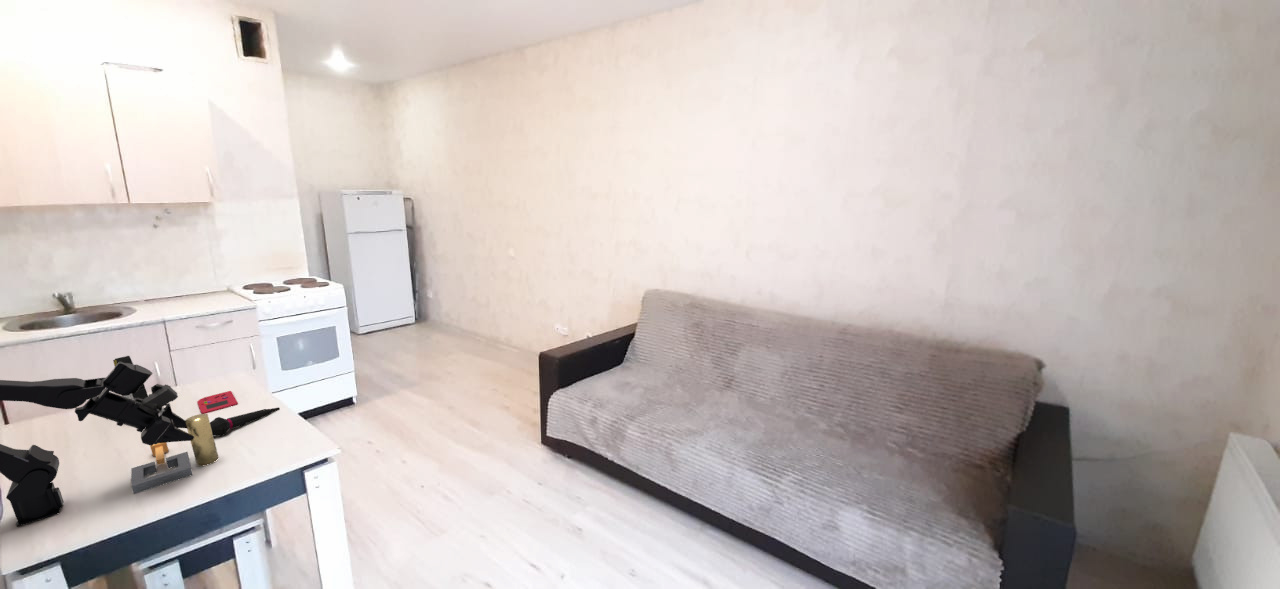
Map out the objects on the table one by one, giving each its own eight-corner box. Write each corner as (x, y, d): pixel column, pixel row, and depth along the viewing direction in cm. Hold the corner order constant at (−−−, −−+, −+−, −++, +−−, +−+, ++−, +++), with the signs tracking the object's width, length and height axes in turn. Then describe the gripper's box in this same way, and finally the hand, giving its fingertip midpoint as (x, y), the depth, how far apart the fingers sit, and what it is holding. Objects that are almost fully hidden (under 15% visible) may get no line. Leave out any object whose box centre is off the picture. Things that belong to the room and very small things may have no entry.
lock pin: (153, 469, 133) (150, 459, 132) (152, 452, 141) (150, 443, 140) (170, 464, 135) (167, 454, 134) (168, 448, 143) (165, 438, 142)
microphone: (276, 417, 167) (206, 440, 149) (271, 401, 167) (201, 421, 149) (286, 415, 165) (216, 438, 147) (281, 398, 165) (211, 419, 146)
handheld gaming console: (230, 389, 180) (237, 402, 170) (231, 393, 180) (238, 406, 170) (195, 398, 173) (201, 412, 163) (196, 402, 174) (202, 416, 164)
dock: (133, 494, 123) (131, 486, 122) (133, 475, 131) (131, 468, 130) (192, 475, 130) (190, 467, 130) (189, 458, 138) (187, 451, 137)
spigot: (197, 468, 133) (185, 424, 130) (196, 461, 137) (184, 418, 133) (219, 461, 136) (208, 417, 133) (217, 454, 140) (206, 412, 136)
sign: (129, 418, 169) (109, 362, 168) (142, 414, 172) (123, 359, 171) (140, 417, 156) (118, 355, 155) (154, 412, 158) (133, 352, 157)
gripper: (146, 391, 119) (217, 416, 129) (145, 370, 132) (210, 395, 142) (109, 434, 115) (185, 456, 126) (112, 408, 128) (180, 430, 139)
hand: (191, 432), depth 133 cm, fingers open, 9 cm apart
